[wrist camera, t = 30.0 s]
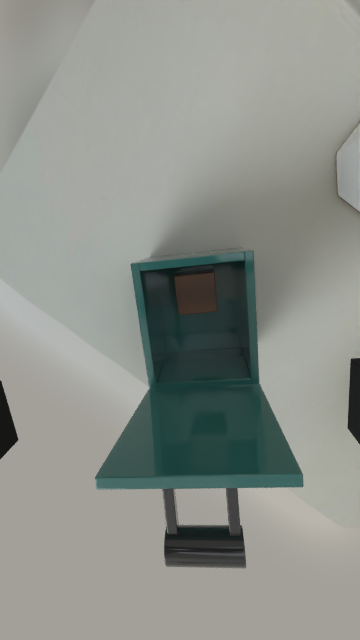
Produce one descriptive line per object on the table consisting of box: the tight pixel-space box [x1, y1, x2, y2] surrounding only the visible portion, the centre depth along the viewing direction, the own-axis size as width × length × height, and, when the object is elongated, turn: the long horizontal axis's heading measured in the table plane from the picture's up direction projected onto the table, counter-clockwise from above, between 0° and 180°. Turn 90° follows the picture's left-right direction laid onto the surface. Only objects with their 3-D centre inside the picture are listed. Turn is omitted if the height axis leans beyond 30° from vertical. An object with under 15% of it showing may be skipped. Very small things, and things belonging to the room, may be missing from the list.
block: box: [174, 268, 217, 315], centre depth 35 cm, size 4×4×4 cm
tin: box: [131, 248, 259, 390], centre depth 34 cm, size 14×12×10 cm
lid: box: [95, 384, 303, 568], centre depth 24 cm, size 14×12×8 cm
